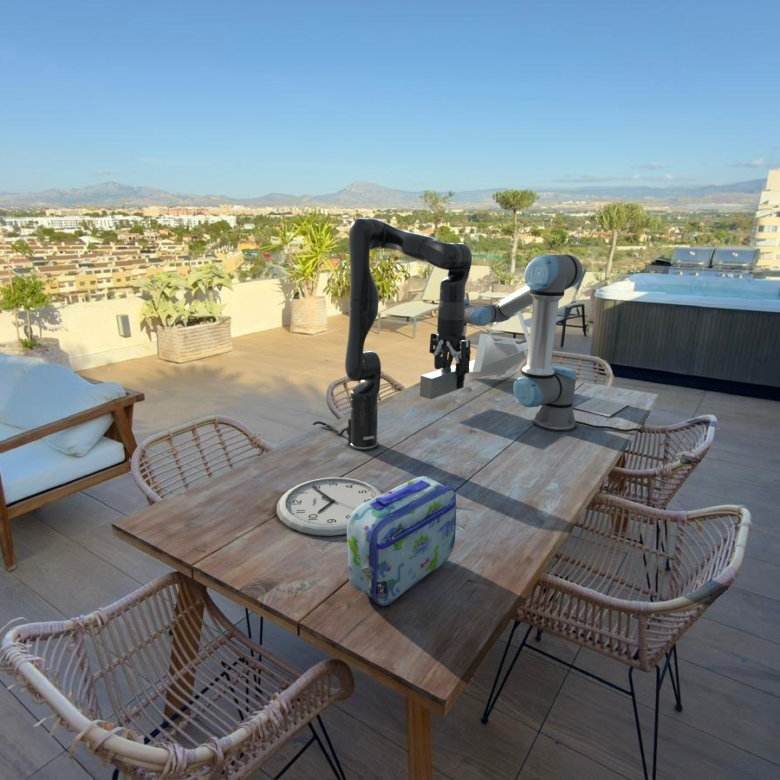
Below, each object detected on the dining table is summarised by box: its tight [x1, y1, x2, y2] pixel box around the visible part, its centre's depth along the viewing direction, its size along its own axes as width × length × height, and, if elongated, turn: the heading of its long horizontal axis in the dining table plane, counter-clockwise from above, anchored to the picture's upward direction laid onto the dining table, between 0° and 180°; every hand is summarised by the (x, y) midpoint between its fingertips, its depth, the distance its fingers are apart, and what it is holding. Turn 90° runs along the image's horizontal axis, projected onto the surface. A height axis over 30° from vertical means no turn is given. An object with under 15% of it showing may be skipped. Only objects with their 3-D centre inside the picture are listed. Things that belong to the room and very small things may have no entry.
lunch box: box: [346, 475, 457, 607], centre depth 111 cm, size 26×11×21 cm, turn 134°
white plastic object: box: [467, 310, 530, 379], centre depth 258 cm, size 37×45×31 cm
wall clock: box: [276, 476, 384, 537], centre depth 142 cm, size 30×2×30 cm
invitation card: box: [573, 396, 629, 418], centre depth 226 cm, size 21×1×15 cm
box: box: [419, 365, 465, 400], centre depth 222 cm, size 23×6×9 cm, turn 138°
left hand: (448, 372), depth 152 cm, fingers open, 8 cm apart
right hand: (453, 386), depth 229 cm, fingers closed on box, 6 cm apart
